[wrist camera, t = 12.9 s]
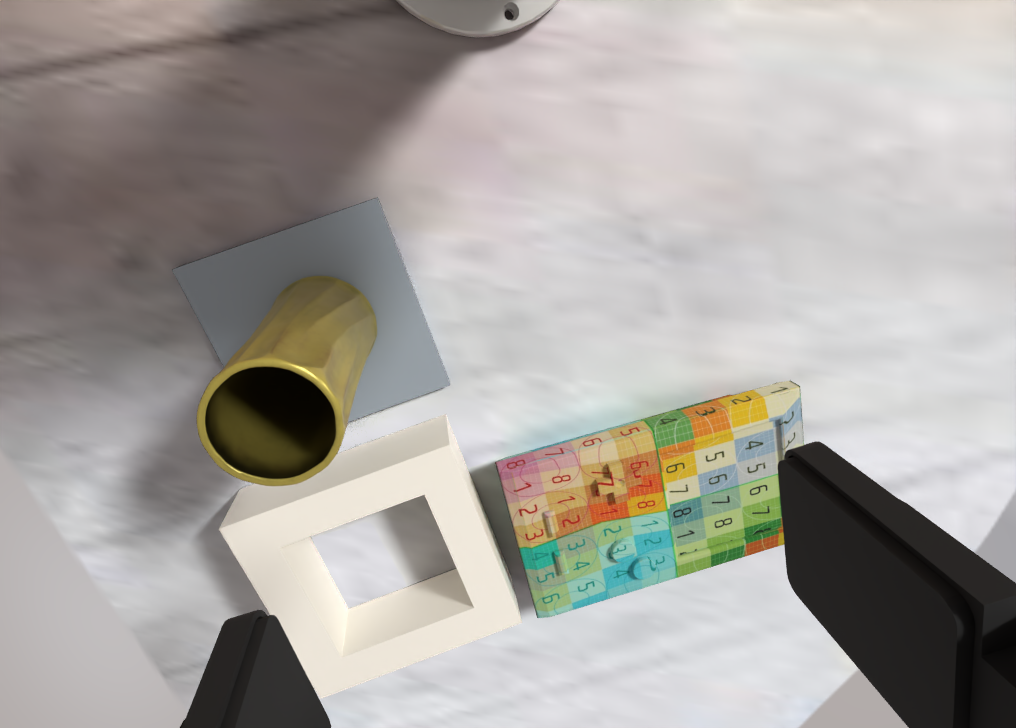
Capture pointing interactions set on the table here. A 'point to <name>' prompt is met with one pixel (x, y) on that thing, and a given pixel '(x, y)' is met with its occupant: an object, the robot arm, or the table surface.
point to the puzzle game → (651, 497)
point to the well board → (398, 615)
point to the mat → (335, 253)
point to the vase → (290, 385)
